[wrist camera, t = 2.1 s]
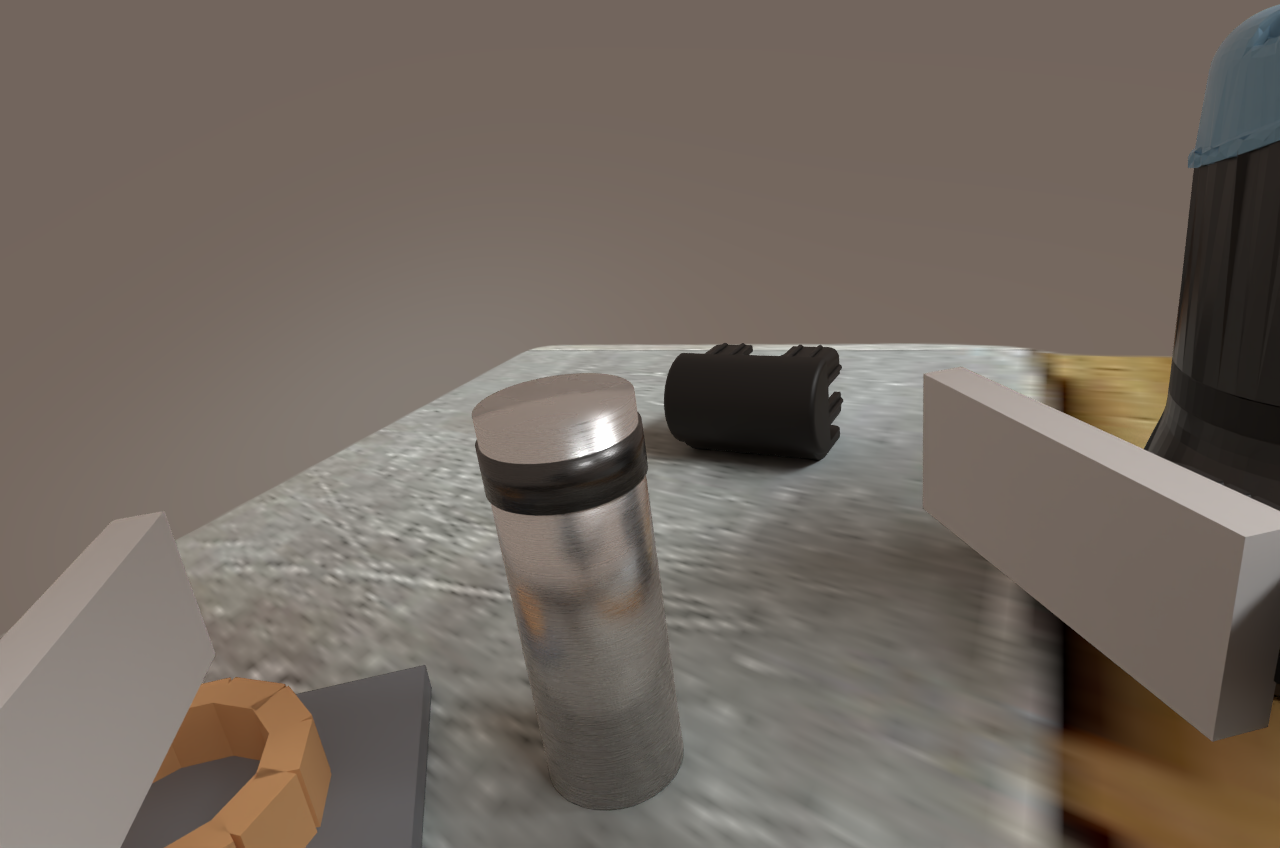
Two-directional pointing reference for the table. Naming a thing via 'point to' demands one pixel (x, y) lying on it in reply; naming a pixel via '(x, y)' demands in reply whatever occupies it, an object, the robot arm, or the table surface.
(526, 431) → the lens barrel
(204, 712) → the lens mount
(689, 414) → the end cap
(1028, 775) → the table surface
